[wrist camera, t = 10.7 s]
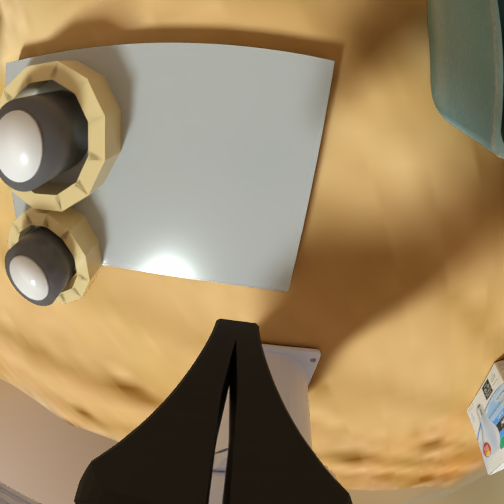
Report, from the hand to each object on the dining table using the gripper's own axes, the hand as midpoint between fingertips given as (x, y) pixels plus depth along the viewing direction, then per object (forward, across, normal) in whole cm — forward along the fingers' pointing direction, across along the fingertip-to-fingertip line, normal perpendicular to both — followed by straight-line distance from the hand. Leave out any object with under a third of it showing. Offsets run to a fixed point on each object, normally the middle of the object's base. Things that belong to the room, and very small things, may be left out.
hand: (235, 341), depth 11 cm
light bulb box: (+10, -33, +16) cm, 38 cm away
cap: (+9, +12, -5) cm, 16 cm away
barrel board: (+10, +7, -2) cm, 12 cm away
